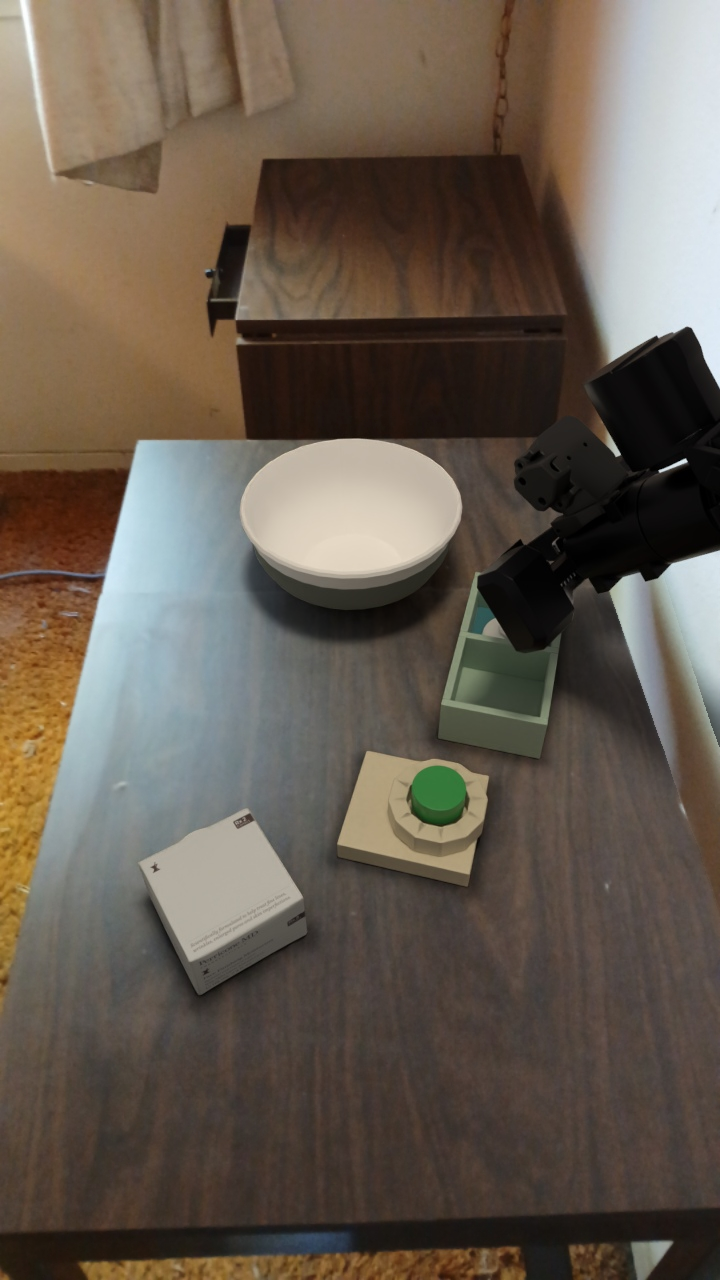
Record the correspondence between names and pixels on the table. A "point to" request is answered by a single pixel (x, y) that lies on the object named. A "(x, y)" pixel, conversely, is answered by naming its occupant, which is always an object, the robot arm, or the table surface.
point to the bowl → (351, 521)
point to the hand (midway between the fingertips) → (504, 571)
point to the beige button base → (410, 822)
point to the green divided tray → (496, 688)
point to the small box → (224, 899)
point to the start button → (438, 794)
